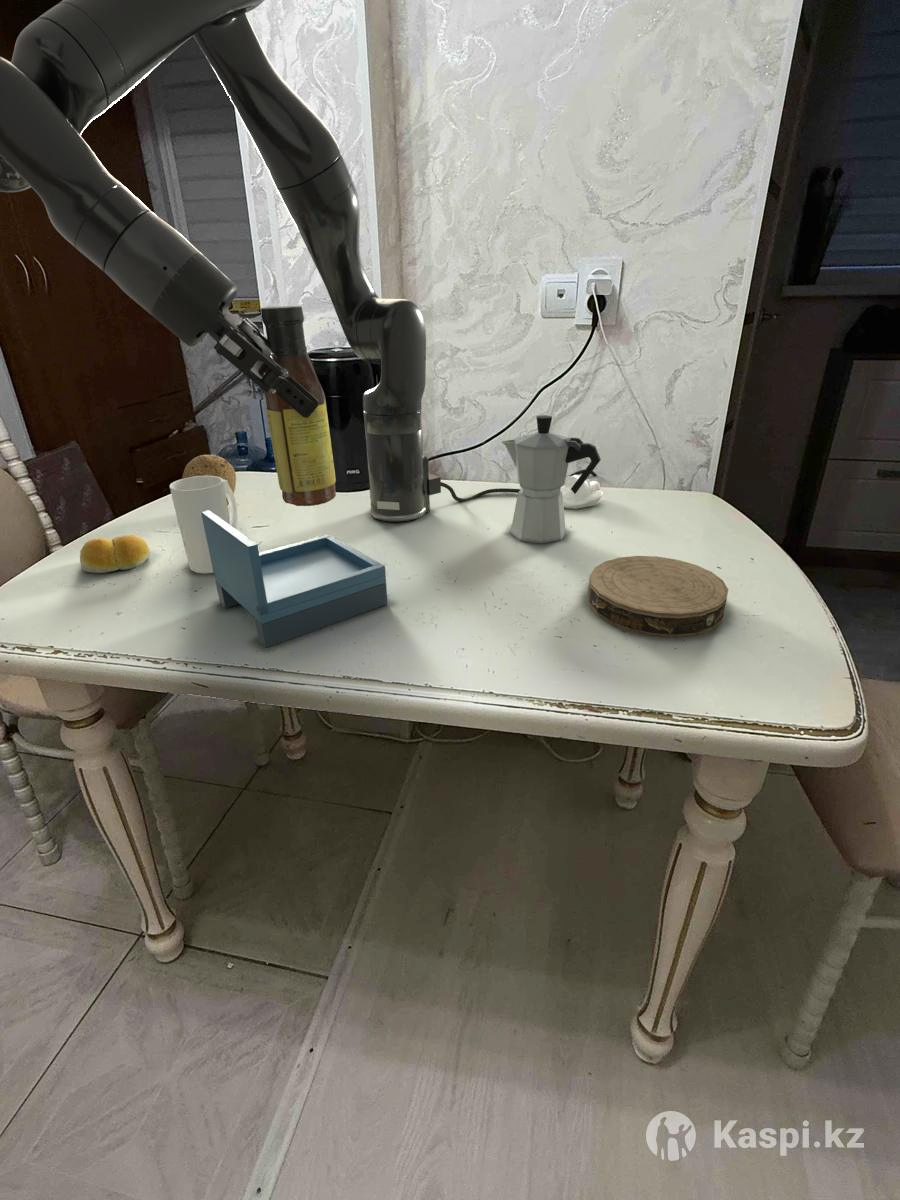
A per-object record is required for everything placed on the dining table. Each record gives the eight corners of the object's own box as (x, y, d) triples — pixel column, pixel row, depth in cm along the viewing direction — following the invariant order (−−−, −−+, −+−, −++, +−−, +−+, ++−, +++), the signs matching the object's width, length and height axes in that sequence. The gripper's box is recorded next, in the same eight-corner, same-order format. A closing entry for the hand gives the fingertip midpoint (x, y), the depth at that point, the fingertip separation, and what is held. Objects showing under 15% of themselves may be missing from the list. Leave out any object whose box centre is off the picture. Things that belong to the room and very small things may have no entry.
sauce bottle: (346, 494, 72) (330, 304, 63) (320, 511, 67) (298, 307, 58) (297, 488, 74) (275, 304, 65) (267, 505, 69) (238, 307, 60)
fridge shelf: (332, 568, 87) (323, 485, 81) (387, 604, 77) (381, 512, 72) (219, 602, 78) (200, 511, 73) (266, 648, 68) (248, 546, 63)
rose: (614, 474, 111) (590, 487, 104) (612, 498, 113) (588, 513, 106) (564, 465, 116) (538, 478, 109) (562, 488, 118) (536, 502, 111)
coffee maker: (490, 537, 96) (492, 418, 88) (507, 519, 104) (510, 407, 95) (587, 550, 91) (598, 425, 83) (597, 530, 99) (609, 413, 90)
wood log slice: (560, 599, 78) (562, 577, 76) (641, 566, 86) (644, 546, 85) (670, 653, 66) (674, 628, 65) (750, 608, 75) (755, 586, 73)
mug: (216, 577, 85) (198, 492, 79) (177, 571, 87) (157, 487, 81) (261, 550, 93) (248, 471, 88) (225, 545, 95) (210, 467, 90)
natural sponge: (191, 524, 104) (178, 464, 99) (183, 509, 111) (170, 453, 106) (246, 514, 108) (236, 457, 103) (235, 500, 115) (225, 446, 110)
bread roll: (154, 566, 89) (147, 540, 87) (83, 579, 85) (74, 552, 83) (149, 546, 95) (143, 522, 93) (83, 558, 91) (75, 532, 90)
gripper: (182, 245, 52) (338, 388, 59) (208, 252, 64) (335, 369, 72) (129, 316, 53) (288, 447, 61) (165, 309, 66) (293, 418, 73)
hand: (313, 404), depth 66 cm, fingers closed on sauce bottle, 6 cm apart
